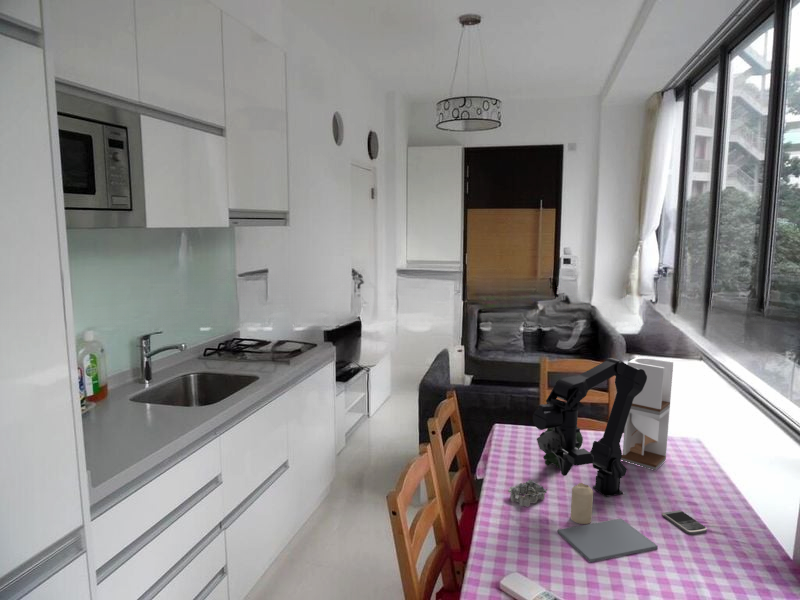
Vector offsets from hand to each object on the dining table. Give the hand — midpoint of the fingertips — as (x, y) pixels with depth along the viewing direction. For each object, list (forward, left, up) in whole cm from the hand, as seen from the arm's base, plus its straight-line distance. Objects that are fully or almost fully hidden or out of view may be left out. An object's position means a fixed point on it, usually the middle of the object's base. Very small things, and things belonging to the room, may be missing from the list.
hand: (564, 475), depth 167 cm
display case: (-44, -18, -9) cm, 48 cm away
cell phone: (-26, +19, -10) cm, 34 cm away
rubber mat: (0, +20, -9) cm, 22 cm away
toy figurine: (-17, -26, -9) cm, 32 cm away
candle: (0, +9, -9) cm, 13 cm away
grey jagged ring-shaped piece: (+8, -6, -9) cm, 14 cm away
